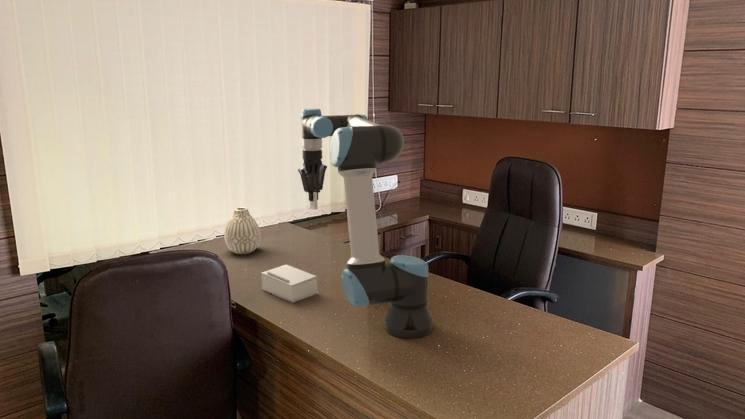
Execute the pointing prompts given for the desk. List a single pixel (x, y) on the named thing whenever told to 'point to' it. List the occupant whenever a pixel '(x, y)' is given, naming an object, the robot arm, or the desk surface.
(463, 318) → the desk surface
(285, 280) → the cover
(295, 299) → the open white tray
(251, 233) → the vase
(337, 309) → the desk surface
